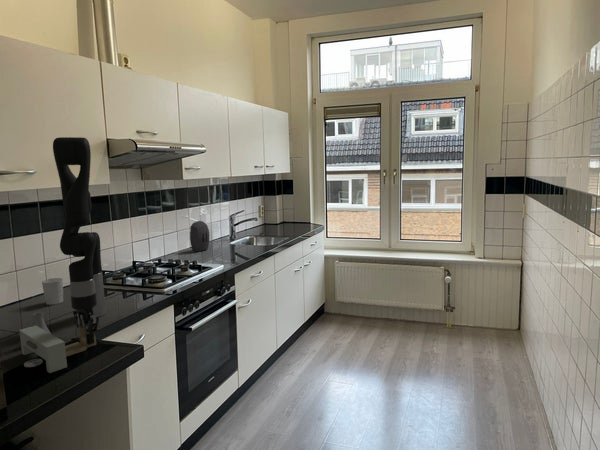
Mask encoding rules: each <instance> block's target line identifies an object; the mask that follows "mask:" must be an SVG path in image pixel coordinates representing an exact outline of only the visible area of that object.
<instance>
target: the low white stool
mask: <svg viewBox="0 0 600 450" xmlns="http://www.w3.org/2000/svg"><path fill="white" fill-rule="evenodd" d="M18 332H19V338H20V346H21V347H20V348H21V354H22V355H24V356H26V355H29V354H34V353H35V354H36V355H38V356H39V357H40V358H41V359H42V360H44V361H45V364H46V372H47V373H49V374H51V373H54V372H57V371H60V370H63V369H66V368H68V362H67V357H66V350H65V346H66V342H65V341H64V340H62V339H60V338H59V337H57V336H55V335H54V334H52V333H51V332H50V333H51V334H50V333H48V332H47V331H45V330H43V329H41V328H40V327H38V326H34V325H33V326H28V327H24V328H21V329H19V330H18Z"/></svg>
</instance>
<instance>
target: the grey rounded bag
mask: <svg viewBox="0 0 600 450" xmlns="http://www.w3.org/2000/svg"><path fill="white" fill-rule="evenodd" d="M189 241H190V246H191V250H192V251H194V252H202V251H205V250H208V249H209V246H210V245H209V244H210V230H209V227H208V225H207V223H205V222H204V221H203V220H198V221H194V222H193V223H192V224H191V225H190V232H189Z"/></svg>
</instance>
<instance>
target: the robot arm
mask: <svg viewBox="0 0 600 450" xmlns="http://www.w3.org/2000/svg"><path fill="white" fill-rule="evenodd" d="M52 153H53V157H54V160H55V161H54V162H55V166H56V170H57V174H58V178H59V183H60V190H61V198H62V203H63V210H64V226H63V231H62V234H61V238H60V241H59V248H60V249H59V250H60V251H61V253H63V254H64V255H65V256H73V257H75V258H81V257H83V258H82V259H79V260H76V261H73V262H70V264H68V274H69V291H70V301H71V308H72V309H73V310H74V311H72V314H73V318H74V321H75V325H76V327H77V329H79V328H78V326H82V325H83V327H84V328H85V332H86V340H87V344H88V345H90V344H93V343H94V332H95V333H97V332H98V327H99V317H102V316H104V315H105V314H106V313H107V309H106V308H107V307H106V300H105V299H106V298H105V287H104V276H103V267H102V255H101V239H100V238H101V237H100V235H99V233H98V232H95V231H94V232H93V231H91V232H90V231H88V232H87V231H85V232H84V231H83V232H79V231H80V228H82V227H83V226H87V225H88V224H89V222H90V217H89V216H90V214H91V211H92V210H93V205H92V196H91V192H90V191H89V190H90V189H89V188H90V177H91V160H92V159H91V157H92V154H91V146H90V141H89V139H87V138H86V137H81V136H79V137H78V136H76V137H74V136H73V137H71V136H69V137H67V136H66V137H56V138H55V139H53V141H52ZM70 166H79V172H78V175H77V177H76V176H75V174H74V173H73V172H72V170H71V167H70ZM88 323H89V324H88Z"/></svg>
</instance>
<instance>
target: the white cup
mask: <svg viewBox="0 0 600 450" xmlns="http://www.w3.org/2000/svg"><path fill="white" fill-rule="evenodd" d="M41 284H42V290H43V296H44V300H45V304H46V305H47V306H49V305H50V306H52V305H57V304H62V303H63V302H64V282H63V278H62V277H54V278H53V277H52V278H47V279H43V280H42V281H41Z"/></svg>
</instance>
